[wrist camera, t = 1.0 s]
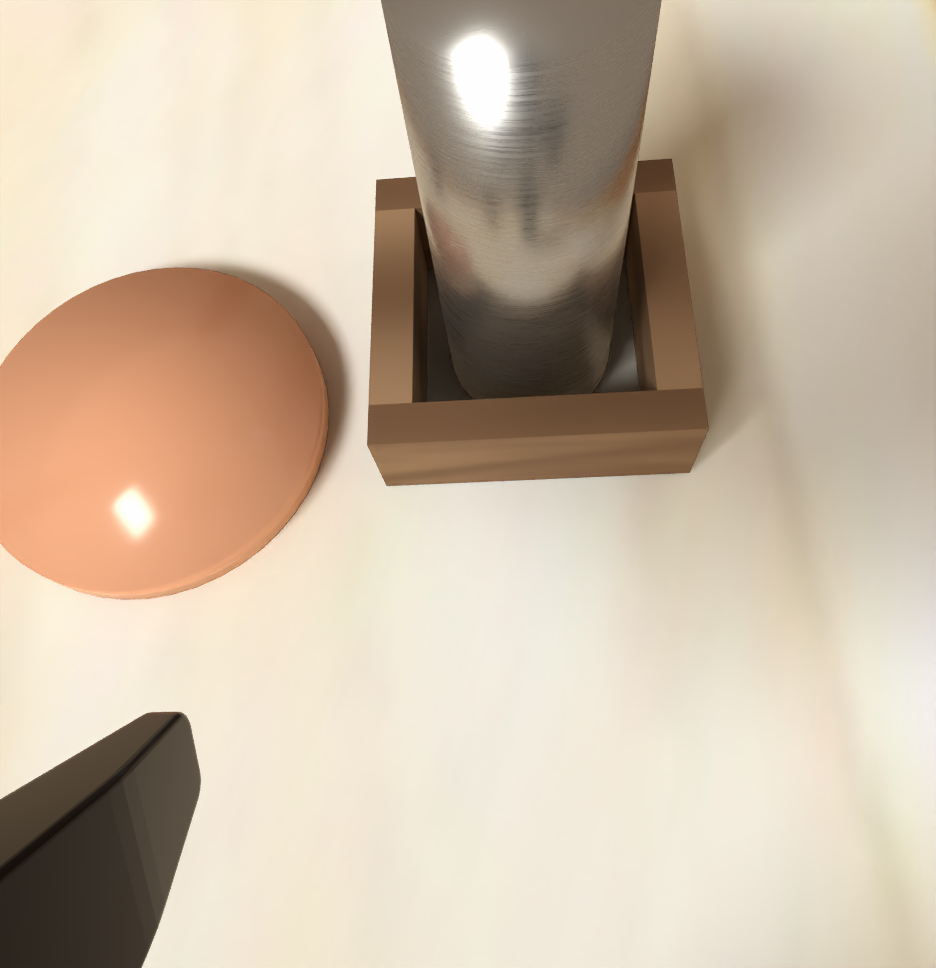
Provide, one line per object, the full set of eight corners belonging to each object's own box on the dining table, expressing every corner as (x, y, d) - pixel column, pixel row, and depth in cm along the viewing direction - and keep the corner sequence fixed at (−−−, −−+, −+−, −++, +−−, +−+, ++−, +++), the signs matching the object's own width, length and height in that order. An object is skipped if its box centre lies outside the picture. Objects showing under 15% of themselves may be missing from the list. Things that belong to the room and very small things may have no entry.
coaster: (142, 677, 23) (126, 671, 22) (-77, 457, 27) (-99, 444, 26) (400, 403, 26) (394, 387, 25) (171, 233, 29) (159, 214, 28)
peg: (542, 449, 25) (544, 109, 13) (419, 361, 26) (317, -18, 14) (640, 336, 26) (726, -74, 14) (517, 257, 28) (499, -173, 15)
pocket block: (689, 472, 24) (708, 428, 21) (386, 485, 25) (367, 444, 22) (658, 224, 28) (671, 158, 25) (392, 241, 28) (376, 179, 25)
